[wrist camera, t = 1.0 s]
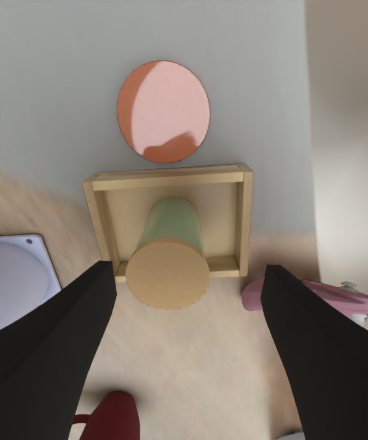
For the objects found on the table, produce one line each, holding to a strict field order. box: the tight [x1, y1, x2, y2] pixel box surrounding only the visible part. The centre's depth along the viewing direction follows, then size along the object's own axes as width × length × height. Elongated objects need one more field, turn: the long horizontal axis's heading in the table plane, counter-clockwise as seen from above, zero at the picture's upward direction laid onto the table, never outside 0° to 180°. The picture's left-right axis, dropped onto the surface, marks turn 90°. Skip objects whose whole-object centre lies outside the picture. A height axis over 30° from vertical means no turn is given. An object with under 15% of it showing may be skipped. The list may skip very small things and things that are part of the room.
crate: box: [82, 164, 254, 283], centre depth 19 cm, size 12×9×3 cm
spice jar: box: [125, 197, 210, 310], centre depth 16 cm, size 5×5×8 cm
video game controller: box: [242, 276, 368, 326], centre depth 20 cm, size 10×5×7 cm, turn 79°
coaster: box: [117, 61, 210, 163], centre depth 16 cm, size 7×7×1 cm
